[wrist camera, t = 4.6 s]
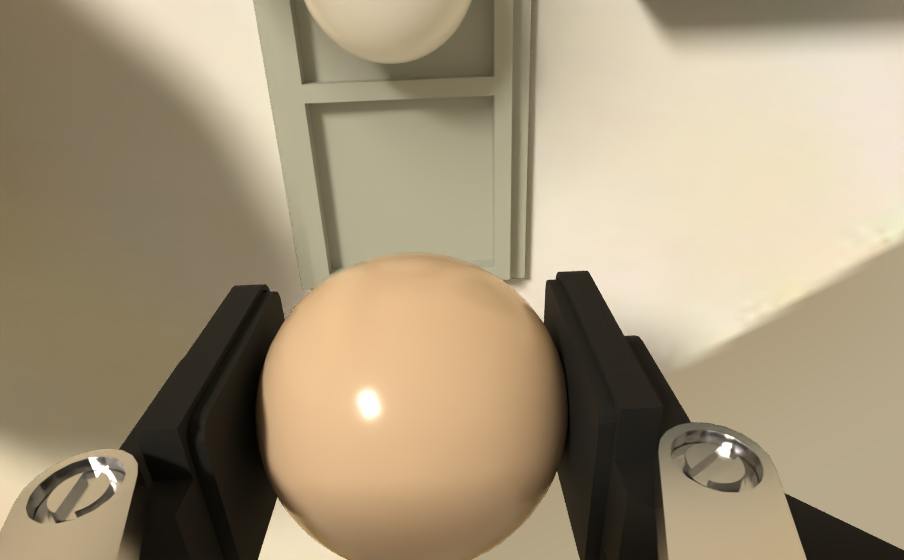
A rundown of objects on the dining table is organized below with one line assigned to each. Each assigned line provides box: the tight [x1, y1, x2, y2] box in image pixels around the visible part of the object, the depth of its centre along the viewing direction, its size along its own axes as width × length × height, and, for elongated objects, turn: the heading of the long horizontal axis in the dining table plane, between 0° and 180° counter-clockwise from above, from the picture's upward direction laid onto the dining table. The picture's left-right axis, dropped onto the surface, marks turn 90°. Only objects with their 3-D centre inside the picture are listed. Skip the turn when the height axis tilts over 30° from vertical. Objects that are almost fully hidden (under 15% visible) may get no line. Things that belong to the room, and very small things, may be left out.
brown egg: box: [255, 252, 568, 560], centre depth 9 cm, size 5×5×5 cm
